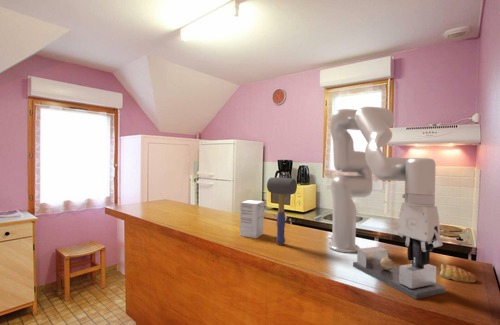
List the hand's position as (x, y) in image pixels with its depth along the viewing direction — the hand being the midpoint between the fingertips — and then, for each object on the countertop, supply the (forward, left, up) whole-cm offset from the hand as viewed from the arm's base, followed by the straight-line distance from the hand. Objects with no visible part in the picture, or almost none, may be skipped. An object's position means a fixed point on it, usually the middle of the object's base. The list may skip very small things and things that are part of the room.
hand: (418, 261), depth 78 cm
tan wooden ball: (-11, 0, -5) cm, 12 cm away
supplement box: (-69, -26, -9) cm, 74 cm away
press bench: (-8, 0, -8) cm, 11 cm away
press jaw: (0, 0, -6) cm, 6 cm away
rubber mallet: (-51, -19, -8) cm, 55 cm away
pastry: (-2, +20, -9) cm, 22 cm away
